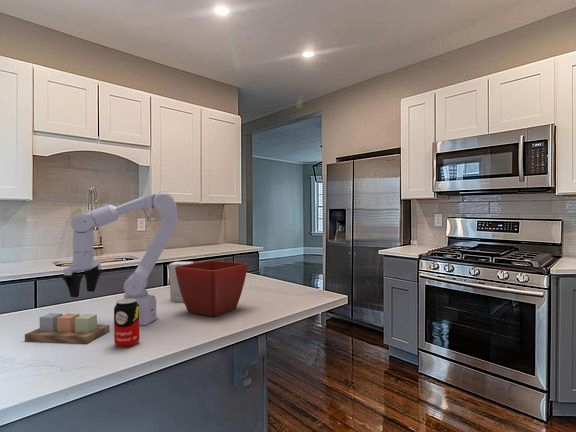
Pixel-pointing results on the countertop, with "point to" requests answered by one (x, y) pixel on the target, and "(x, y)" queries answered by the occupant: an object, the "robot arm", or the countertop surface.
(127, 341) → the beverage can
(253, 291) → the countertop surface
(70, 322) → the terracotta block
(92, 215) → the robot arm
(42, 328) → the slate block
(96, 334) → the board
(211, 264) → the plant pot
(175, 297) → the skincare box
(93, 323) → the sage block
